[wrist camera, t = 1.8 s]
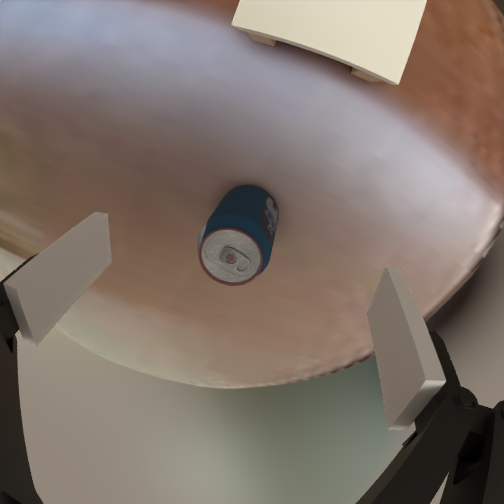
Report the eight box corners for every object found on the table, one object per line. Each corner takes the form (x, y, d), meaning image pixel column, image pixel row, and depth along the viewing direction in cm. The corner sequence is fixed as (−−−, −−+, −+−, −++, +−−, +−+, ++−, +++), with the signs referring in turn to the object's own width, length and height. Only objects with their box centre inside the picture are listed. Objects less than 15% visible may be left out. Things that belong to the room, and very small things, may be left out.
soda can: (211, 216, 40) (179, 264, 29) (241, 171, 37) (215, 206, 26) (258, 246, 41) (241, 303, 30) (290, 204, 38) (285, 252, 27)
